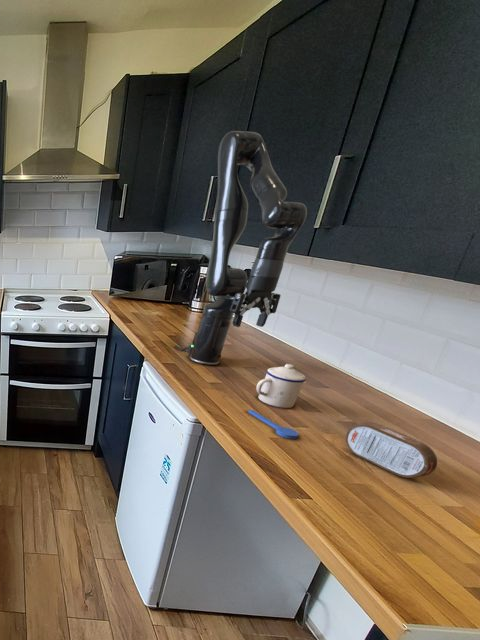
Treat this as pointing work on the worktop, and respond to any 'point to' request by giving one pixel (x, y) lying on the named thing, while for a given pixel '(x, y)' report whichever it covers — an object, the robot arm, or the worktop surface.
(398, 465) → the tin
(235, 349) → the worktop surface
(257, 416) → the spoon
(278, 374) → the teacup with lid
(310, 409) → the worktop surface
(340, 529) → the worktop surface
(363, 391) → the worktop surface
